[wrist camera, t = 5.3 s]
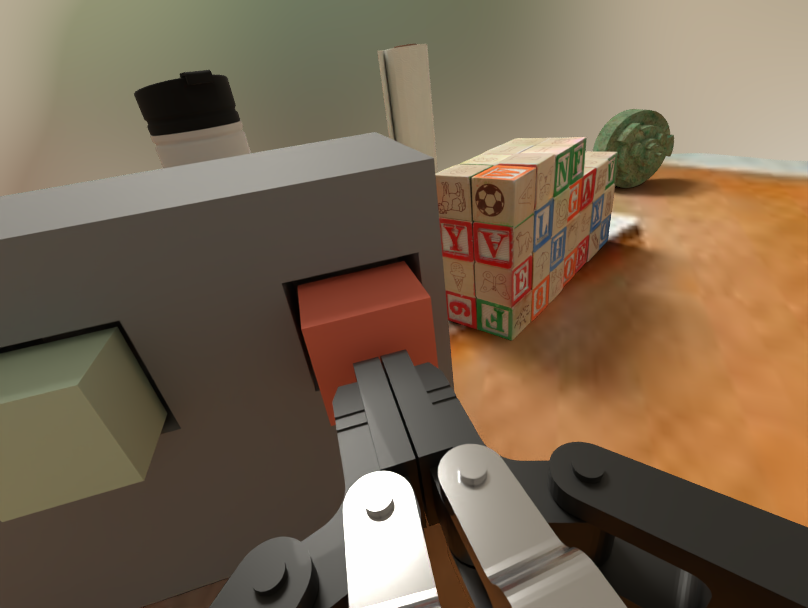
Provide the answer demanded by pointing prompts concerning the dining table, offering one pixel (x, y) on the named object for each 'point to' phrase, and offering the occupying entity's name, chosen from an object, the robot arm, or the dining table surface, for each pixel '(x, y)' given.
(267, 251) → the console
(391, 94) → the paper towel roll
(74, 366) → the green button
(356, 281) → the red button
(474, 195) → the stack of blocks
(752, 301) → the dining table surface
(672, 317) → the dining table surface
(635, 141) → the decorative artifact
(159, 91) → the travel mug
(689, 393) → the dining table surface
